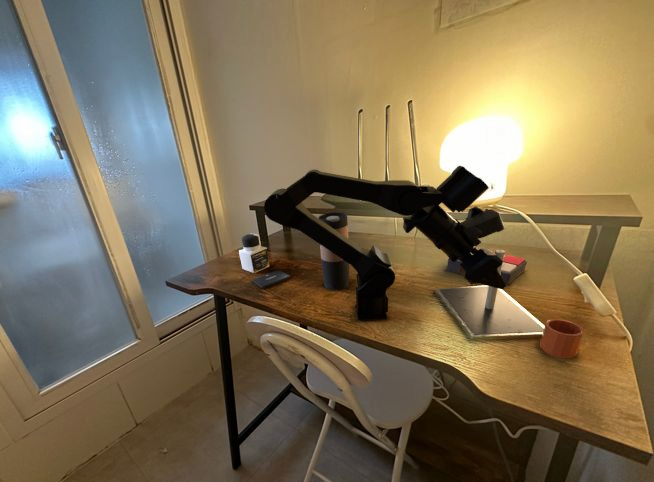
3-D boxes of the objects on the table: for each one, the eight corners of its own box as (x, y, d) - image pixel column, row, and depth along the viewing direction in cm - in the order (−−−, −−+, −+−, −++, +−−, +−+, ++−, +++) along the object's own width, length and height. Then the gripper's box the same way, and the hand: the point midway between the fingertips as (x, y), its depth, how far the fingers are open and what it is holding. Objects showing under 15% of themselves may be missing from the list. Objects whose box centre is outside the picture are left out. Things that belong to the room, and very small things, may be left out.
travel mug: (333, 276, 92) (329, 211, 83) (355, 282, 87) (353, 213, 78) (317, 286, 87) (311, 218, 79) (339, 293, 82) (336, 221, 74)
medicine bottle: (254, 273, 102) (247, 240, 97) (242, 269, 107) (235, 236, 102) (270, 266, 106) (264, 233, 101) (257, 262, 111) (252, 231, 106)
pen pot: (551, 360, 51) (559, 336, 49) (532, 342, 56) (539, 319, 54) (583, 359, 51) (592, 335, 49) (562, 341, 55) (569, 318, 53)
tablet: (471, 341, 58) (471, 336, 58) (434, 292, 76) (435, 288, 76) (552, 338, 56) (554, 333, 56) (495, 288, 74) (496, 284, 73)
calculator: (511, 272, 72) (448, 256, 84) (506, 287, 74) (445, 270, 86) (528, 257, 78) (467, 244, 89) (524, 272, 80) (464, 257, 91)
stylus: (490, 310, 65) (501, 253, 59) (483, 306, 66) (493, 251, 60) (495, 307, 65) (507, 251, 59) (488, 304, 66) (499, 249, 61)
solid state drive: (252, 281, 96) (252, 279, 96) (278, 271, 100) (278, 269, 100) (262, 288, 91) (262, 286, 90) (290, 277, 95) (290, 275, 94)
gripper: (499, 209, 48) (562, 269, 51) (460, 188, 65) (509, 235, 67) (440, 257, 54) (499, 310, 56) (418, 226, 70) (465, 268, 72)
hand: (493, 277), depth 62 cm, fingers open, 9 cm apart
